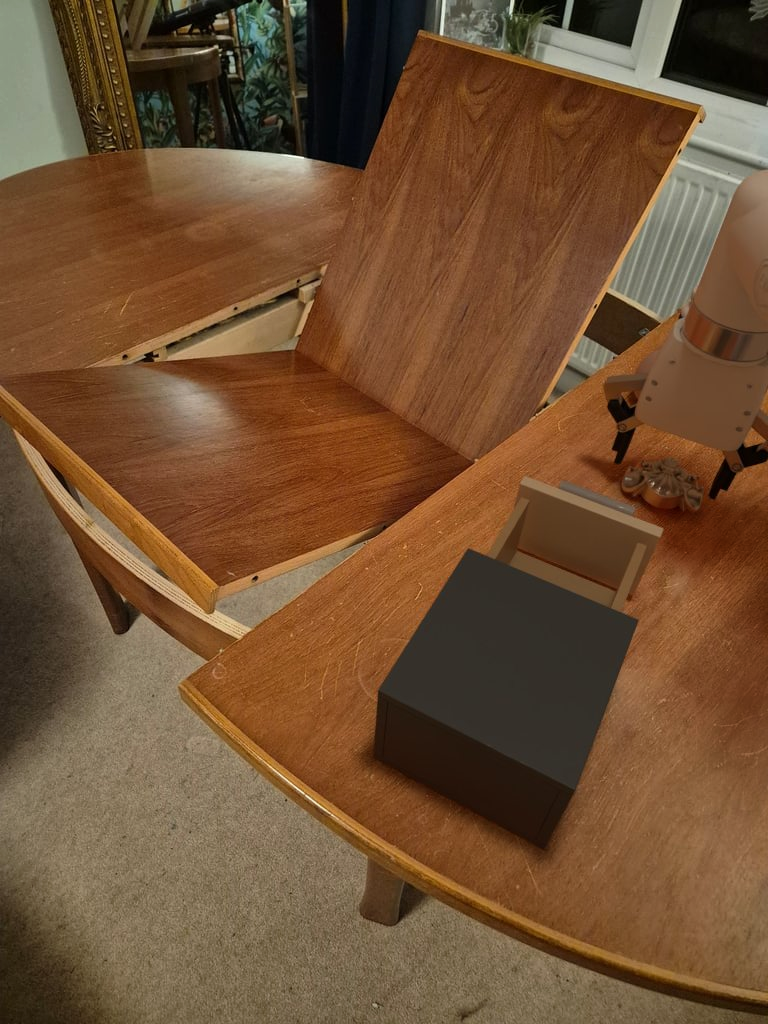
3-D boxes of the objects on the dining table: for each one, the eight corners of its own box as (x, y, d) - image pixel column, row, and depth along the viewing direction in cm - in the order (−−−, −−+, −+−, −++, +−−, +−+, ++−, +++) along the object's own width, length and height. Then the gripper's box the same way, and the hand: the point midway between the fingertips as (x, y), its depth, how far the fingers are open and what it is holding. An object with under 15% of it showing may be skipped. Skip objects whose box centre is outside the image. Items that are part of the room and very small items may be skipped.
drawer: (525, 508, 74) (540, 448, 68) (648, 556, 70) (675, 497, 64) (450, 636, 62) (461, 577, 57) (592, 702, 59) (618, 646, 53)
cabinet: (454, 620, 65) (467, 547, 58) (605, 689, 61) (639, 619, 54) (372, 757, 56) (377, 690, 49) (543, 850, 51) (575, 790, 45)
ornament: (702, 484, 79) (715, 459, 76) (694, 527, 74) (707, 501, 71) (627, 462, 81) (637, 436, 78) (615, 502, 76) (625, 476, 73)
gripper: (842, 337, 63) (759, 482, 75) (642, 280, 68) (595, 424, 81) (833, 382, 58) (746, 529, 71) (619, 317, 64) (573, 464, 76)
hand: (666, 473), depth 76 cm, fingers open, 9 cm apart
